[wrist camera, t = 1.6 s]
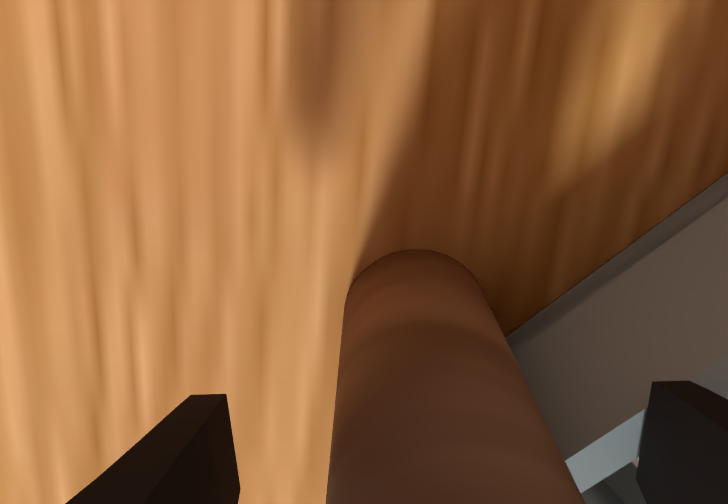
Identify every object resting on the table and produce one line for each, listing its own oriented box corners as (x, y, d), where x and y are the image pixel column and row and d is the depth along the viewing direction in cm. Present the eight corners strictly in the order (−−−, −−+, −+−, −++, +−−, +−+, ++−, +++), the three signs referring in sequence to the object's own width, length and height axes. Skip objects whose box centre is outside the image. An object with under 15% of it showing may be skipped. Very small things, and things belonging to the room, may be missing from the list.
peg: (407, 401, 15) (448, 766, 7) (314, 311, 14) (248, 622, 6) (514, 321, 14) (691, 640, 6) (422, 220, 13) (500, 450, 5)
